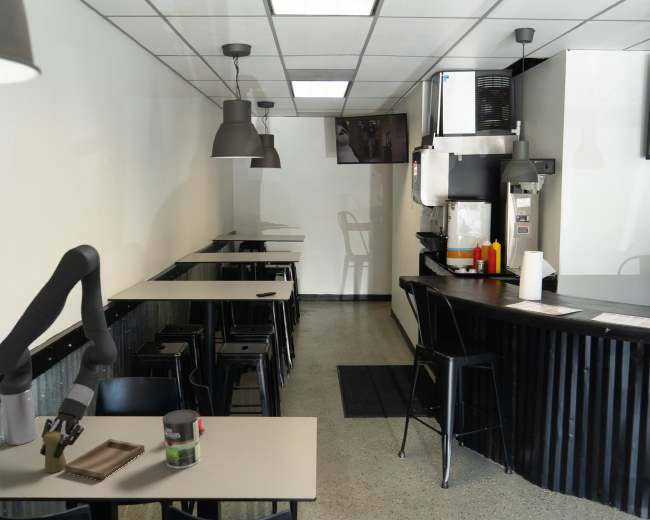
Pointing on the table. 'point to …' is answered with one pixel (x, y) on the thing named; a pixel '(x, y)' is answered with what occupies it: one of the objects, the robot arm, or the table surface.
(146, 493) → the table surface
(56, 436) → the cork
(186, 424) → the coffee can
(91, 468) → the walnut tray
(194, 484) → the table surface
